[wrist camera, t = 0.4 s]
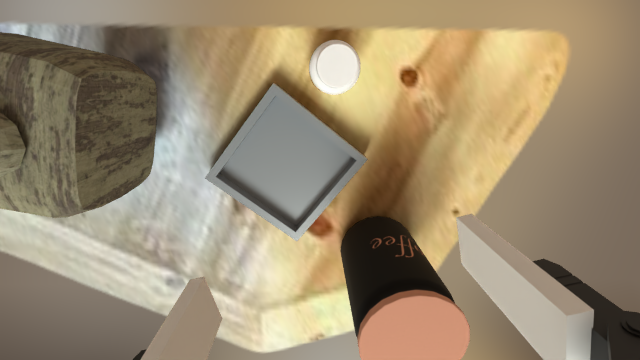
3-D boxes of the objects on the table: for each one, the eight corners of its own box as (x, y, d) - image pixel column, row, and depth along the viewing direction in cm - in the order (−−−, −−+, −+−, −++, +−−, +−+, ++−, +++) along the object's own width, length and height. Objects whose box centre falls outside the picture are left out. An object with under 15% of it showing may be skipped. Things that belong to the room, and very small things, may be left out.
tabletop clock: (100, 49, 36) (-319, -27, 12) (176, 66, 37) (-72, 28, 13) (100, 162, 40) (-212, 275, 16) (168, 176, 41) (-30, 302, 17)
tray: (210, 172, 41) (204, 178, 38) (275, 83, 38) (273, 83, 35) (297, 232, 44) (296, 241, 42) (364, 155, 41) (367, 159, 38)
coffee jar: (424, 237, 45) (494, 330, 28) (379, 286, 47) (419, 400, 30) (369, 199, 43) (408, 275, 26) (325, 253, 45) (335, 355, 28)
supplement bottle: (305, 51, 37) (304, 39, 27) (349, 44, 37) (362, 30, 27) (312, 96, 38) (313, 99, 29) (354, 89, 38) (368, 90, 29)
